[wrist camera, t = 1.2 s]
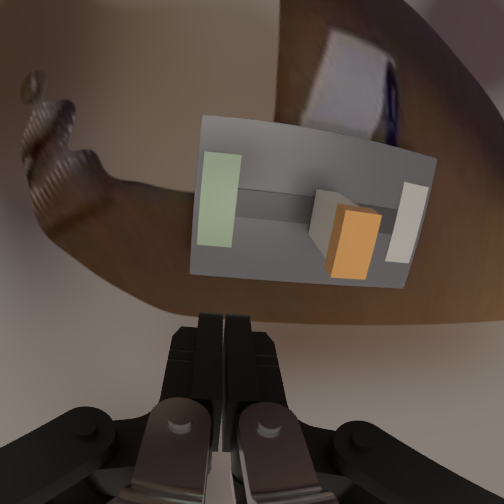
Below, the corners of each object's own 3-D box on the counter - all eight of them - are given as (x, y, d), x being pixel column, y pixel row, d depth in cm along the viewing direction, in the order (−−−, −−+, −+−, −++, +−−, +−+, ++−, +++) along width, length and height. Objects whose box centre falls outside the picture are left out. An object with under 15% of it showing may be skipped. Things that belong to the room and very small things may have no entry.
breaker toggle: (342, 189, 26) (382, 215, 19) (332, 239, 28) (365, 279, 21) (313, 185, 26) (345, 209, 19) (304, 236, 28) (330, 277, 21)
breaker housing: (411, 152, 31) (438, 159, 26) (384, 268, 36) (404, 289, 31) (206, 116, 28) (202, 114, 23) (194, 252, 33) (189, 274, 29)
